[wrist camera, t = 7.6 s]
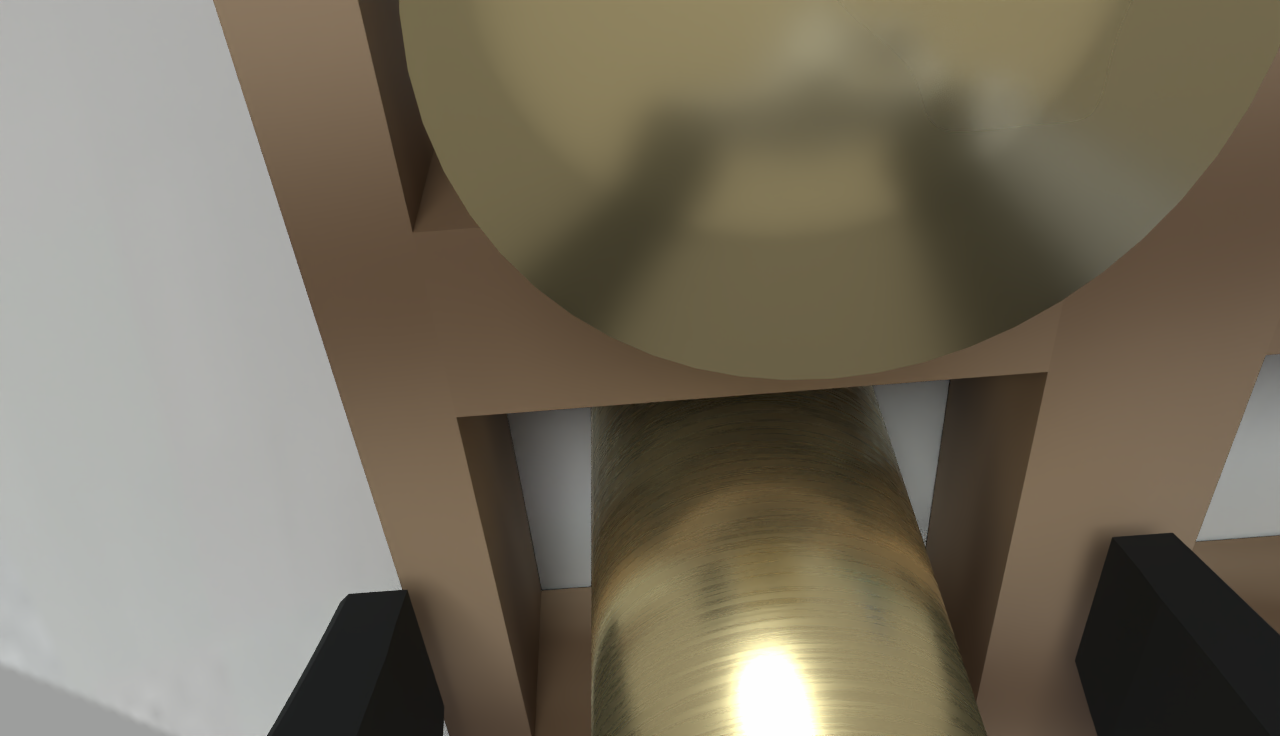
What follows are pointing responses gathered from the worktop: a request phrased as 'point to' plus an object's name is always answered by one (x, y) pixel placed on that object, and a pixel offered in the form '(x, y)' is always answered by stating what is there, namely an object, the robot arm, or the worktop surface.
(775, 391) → the wooden grid frame
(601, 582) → the brass billet
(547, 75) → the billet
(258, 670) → the worktop surface
